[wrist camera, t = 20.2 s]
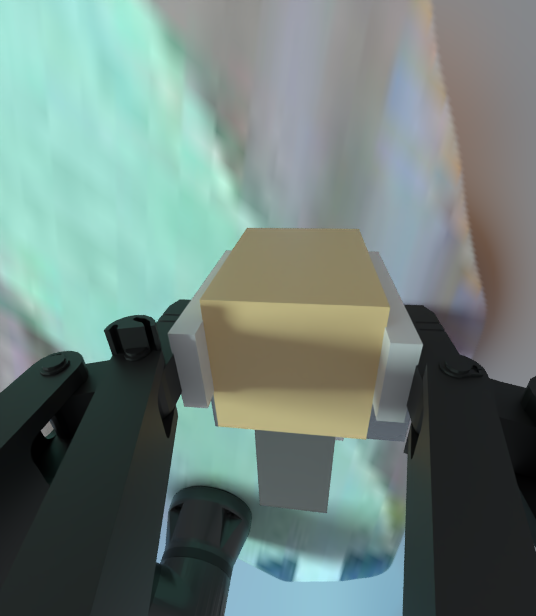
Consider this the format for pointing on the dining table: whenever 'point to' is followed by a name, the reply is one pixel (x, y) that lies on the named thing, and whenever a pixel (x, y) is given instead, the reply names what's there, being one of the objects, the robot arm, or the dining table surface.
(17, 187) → the dining table surface
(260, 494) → the plug
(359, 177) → the dining table surface
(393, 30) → the dining table surface
